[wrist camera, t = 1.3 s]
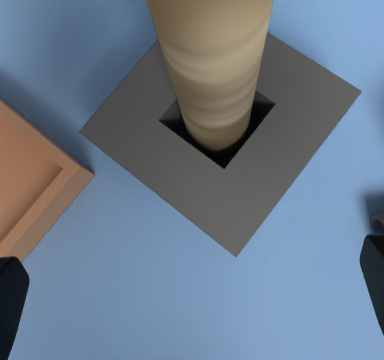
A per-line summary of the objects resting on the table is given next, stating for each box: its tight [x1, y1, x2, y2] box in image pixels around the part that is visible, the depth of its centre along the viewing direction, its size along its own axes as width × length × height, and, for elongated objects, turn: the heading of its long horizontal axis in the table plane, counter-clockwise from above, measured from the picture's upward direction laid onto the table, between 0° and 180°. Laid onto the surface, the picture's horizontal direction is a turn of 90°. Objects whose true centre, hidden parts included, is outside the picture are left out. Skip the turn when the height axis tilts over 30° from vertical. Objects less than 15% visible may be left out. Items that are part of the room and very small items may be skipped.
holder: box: [79, 32, 362, 257], centre depth 22 cm, size 12×12×4 cm
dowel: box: [147, 0, 273, 162], centre depth 17 cm, size 4×4×14 cm
